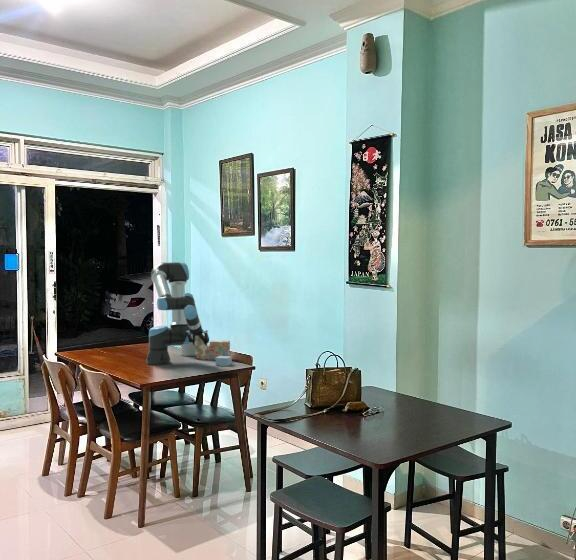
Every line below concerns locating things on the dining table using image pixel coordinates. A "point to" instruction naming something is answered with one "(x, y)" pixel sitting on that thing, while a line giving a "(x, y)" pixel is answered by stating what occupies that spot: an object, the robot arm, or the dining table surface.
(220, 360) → the base block
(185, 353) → the cylinder vase
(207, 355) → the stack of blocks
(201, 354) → the pillar
